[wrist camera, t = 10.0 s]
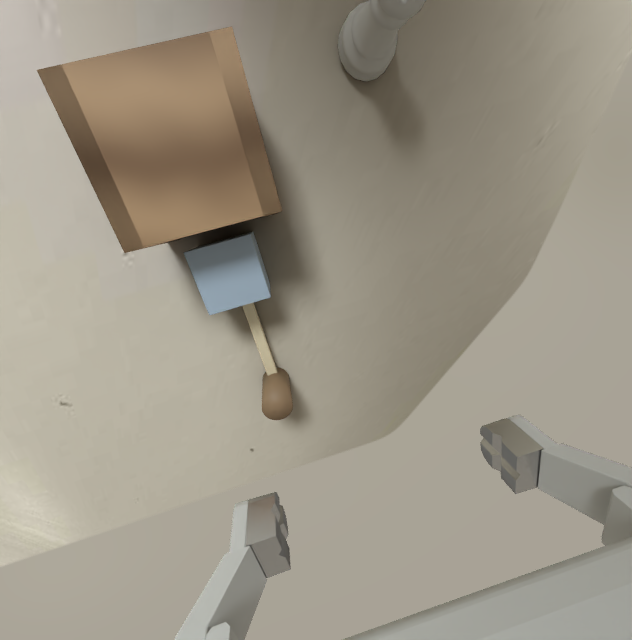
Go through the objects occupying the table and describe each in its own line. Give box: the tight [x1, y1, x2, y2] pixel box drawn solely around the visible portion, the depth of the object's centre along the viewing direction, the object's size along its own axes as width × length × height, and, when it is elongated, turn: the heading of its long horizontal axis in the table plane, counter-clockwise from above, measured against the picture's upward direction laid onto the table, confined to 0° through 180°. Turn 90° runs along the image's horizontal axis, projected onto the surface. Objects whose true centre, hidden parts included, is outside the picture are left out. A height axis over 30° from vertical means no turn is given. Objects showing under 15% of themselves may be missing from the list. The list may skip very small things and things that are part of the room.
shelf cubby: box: [37, 27, 282, 253], centre depth 20 cm, size 9×10×8 cm
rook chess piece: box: [338, 0, 426, 81], centre depth 19 cm, size 4×4×8 cm
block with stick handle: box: [184, 232, 293, 420], centre depth 27 cm, size 16×5×5 cm, turn 14°
